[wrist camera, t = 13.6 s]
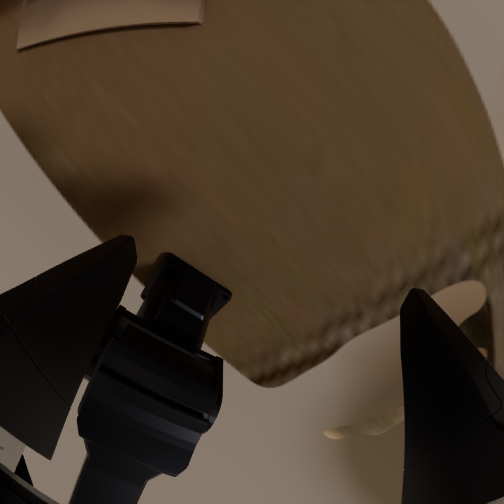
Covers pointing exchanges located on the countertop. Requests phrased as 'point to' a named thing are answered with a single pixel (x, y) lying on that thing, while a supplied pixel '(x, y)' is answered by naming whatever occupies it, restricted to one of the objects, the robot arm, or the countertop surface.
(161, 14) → the jig cradle
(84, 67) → the countertop surface
